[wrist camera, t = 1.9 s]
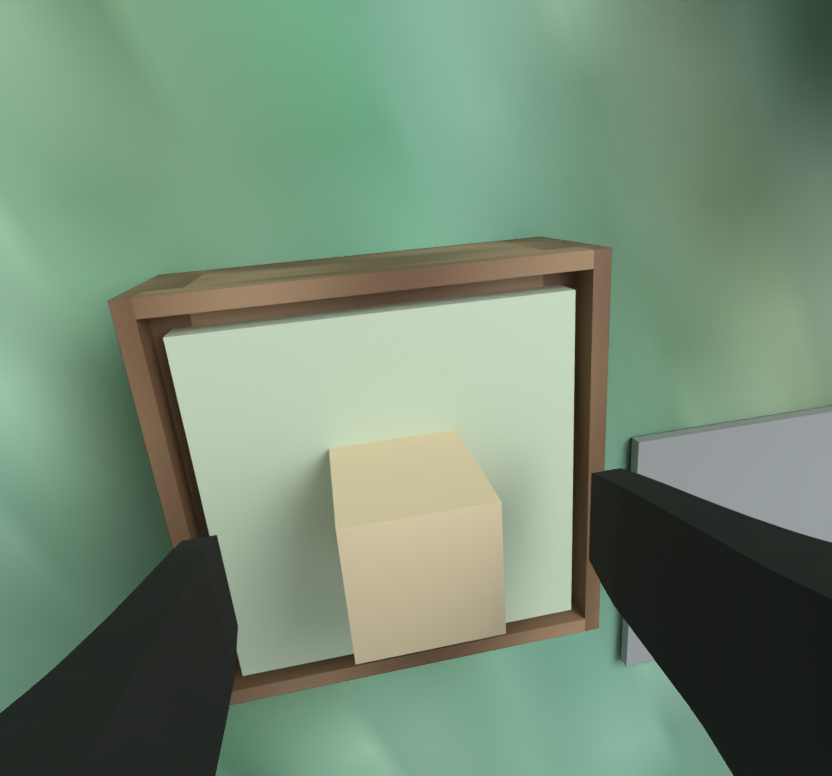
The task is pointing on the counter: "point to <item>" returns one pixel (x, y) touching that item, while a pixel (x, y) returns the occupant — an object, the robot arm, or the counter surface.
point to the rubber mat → (746, 475)
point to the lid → (385, 470)
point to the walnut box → (352, 288)
